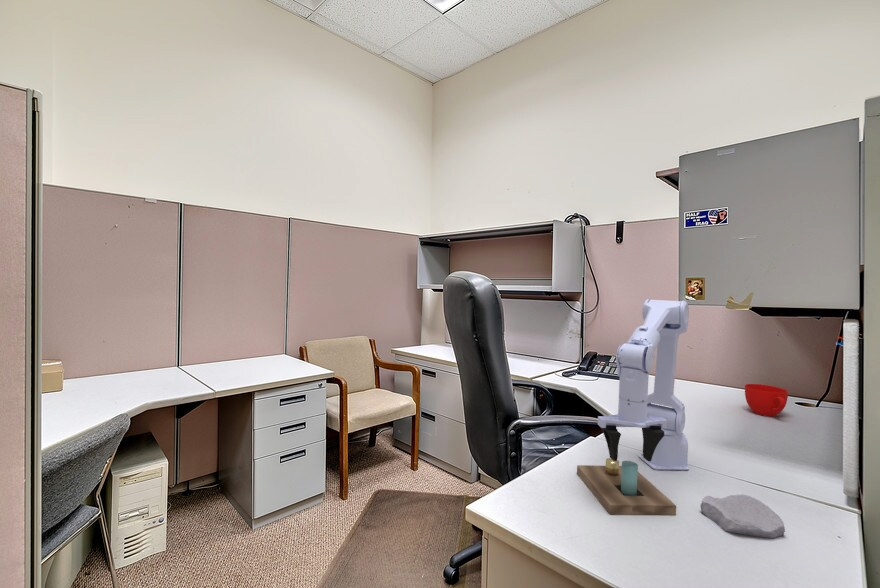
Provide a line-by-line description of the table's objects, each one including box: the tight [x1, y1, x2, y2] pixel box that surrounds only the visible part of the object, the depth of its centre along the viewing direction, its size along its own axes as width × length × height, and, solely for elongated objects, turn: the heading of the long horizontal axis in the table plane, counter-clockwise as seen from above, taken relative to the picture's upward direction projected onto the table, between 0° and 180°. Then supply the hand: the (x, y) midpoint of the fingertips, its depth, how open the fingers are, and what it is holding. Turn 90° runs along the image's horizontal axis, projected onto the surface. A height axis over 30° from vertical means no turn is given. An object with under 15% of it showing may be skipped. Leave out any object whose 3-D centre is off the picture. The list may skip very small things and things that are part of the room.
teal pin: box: [621, 460, 639, 496], centre depth 89 cm, size 3×3×8 cm
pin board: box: [576, 457, 677, 516], centre depth 93 cm, size 14×18×5 cm
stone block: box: [699, 494, 786, 539], centre depth 82 cm, size 12×5×10 cm
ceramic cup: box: [744, 383, 789, 418], centre depth 153 cm, size 13×17×10 cm
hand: (630, 459), depth 89 cm, fingers open, 7 cm apart
